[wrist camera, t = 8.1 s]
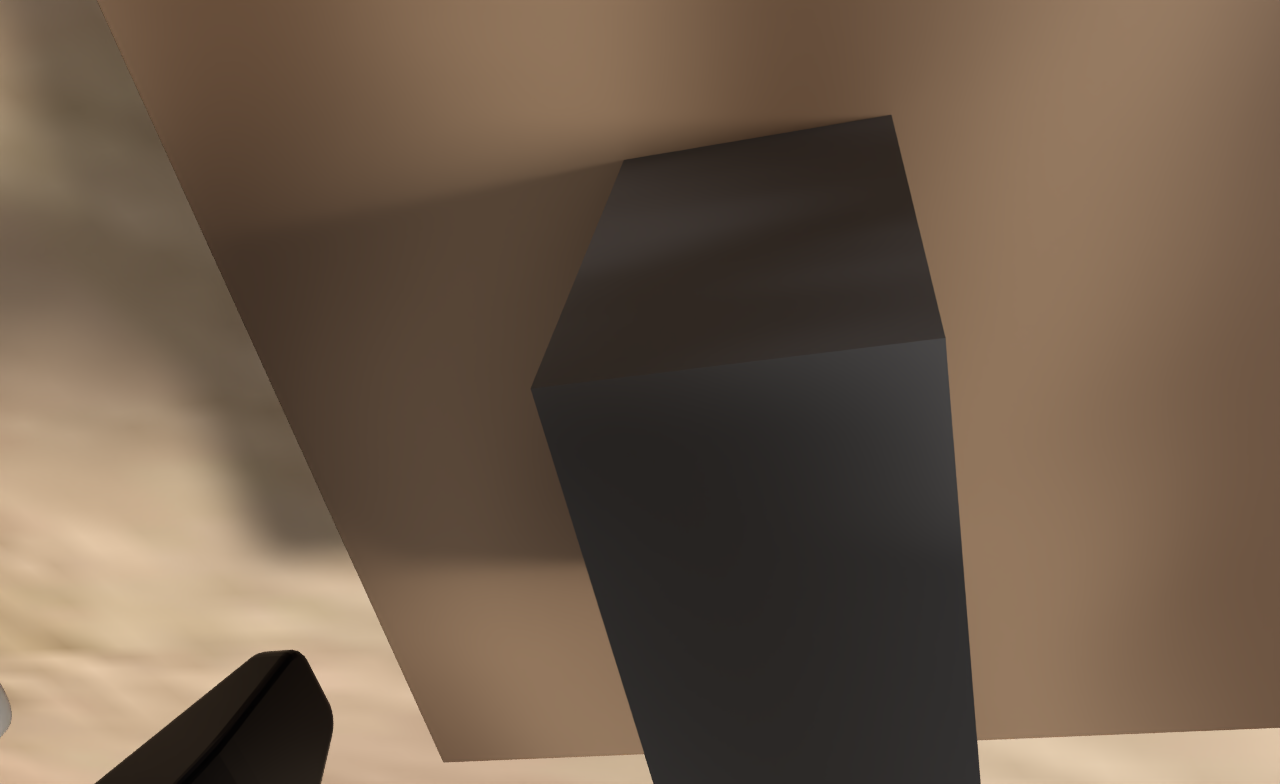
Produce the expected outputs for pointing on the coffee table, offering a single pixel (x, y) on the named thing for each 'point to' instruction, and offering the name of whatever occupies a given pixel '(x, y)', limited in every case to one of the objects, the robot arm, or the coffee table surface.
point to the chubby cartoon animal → (4, 711)
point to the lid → (766, 358)
